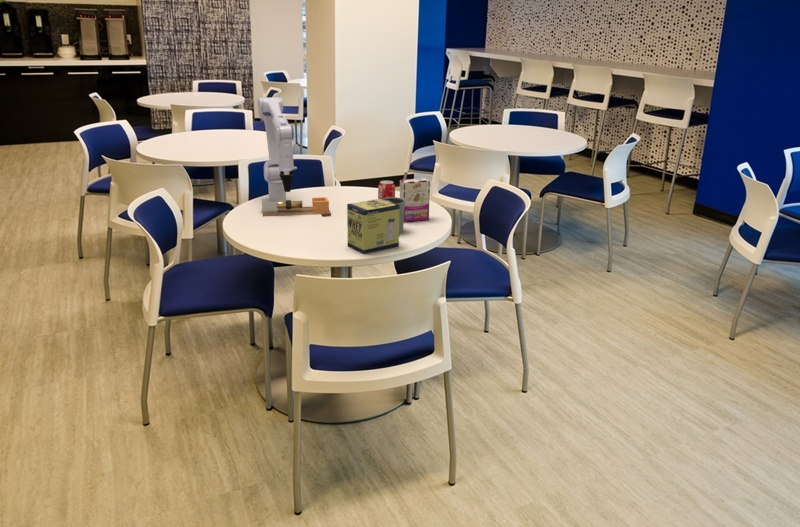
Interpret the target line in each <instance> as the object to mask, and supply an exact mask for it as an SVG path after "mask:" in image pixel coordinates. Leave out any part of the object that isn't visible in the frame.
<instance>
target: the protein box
mask: <svg viewBox="0 0 800 527" xmlns="http://www.w3.org/2000/svg"><path fill="white" fill-rule="evenodd" d="M346 207H347V208H346V209H347V211H346V212H347V216H346V219H347V224H346V225H347V247H349V248H351V249H353V250H355V251H356V252H359V253H361V254H362V255H367V254H370V252H371V253H375V252H380V251H384V250H388V249H392V248H397V247H399V246H400V234H399V211H400V205H399V204H396V203H394V202H391V201H389V200H386V199H383V198H380V199H378V198H375V199H369V200H363V201H358V202H350V203H347V204H346ZM379 250H380V251H379Z"/></svg>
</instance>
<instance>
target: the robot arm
mask: <svg viewBox="0 0 800 527" xmlns="http://www.w3.org/2000/svg"><path fill="white" fill-rule="evenodd" d="M257 109H258V110H257V112H258V117H259V119H260V120H262V121H263V123H264V127H265V128H264V129H265V133H266V134H265V135H266V142H267V150H268V158H269V159H268V160H266V161H265V162H264V163H263V164H264V165H263V177H264V180H265V181H266V183H267V184H268V197H267V199H277V202H279V201H286V200H287V193H291V190H292V184H293V183H292V181H293V178H294V176H295V175H294V172H295V170H297V169H298V167H297V166H294V165H295V164H294V149H293V148H294V146H293V144H294V143H293V141H294V137H295V130H294V126H293V125H292V124H289V121H288V119H287V118H286V115H284V114H283V112H284V100H283V98H282V97H281V96H279V97H277V96H276V97H261V96H260V97H259V98H258V99H257Z"/></svg>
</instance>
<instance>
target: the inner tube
mask: <svg viewBox="0 0 800 527" xmlns="http://www.w3.org/2000/svg"><path fill="white" fill-rule="evenodd" d="M302 207H303V200H291V199H286V200H285V201H279V202H277V208H286V209H291V208H302Z"/></svg>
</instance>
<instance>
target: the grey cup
mask: <svg viewBox="0 0 800 527" xmlns="http://www.w3.org/2000/svg"><path fill="white" fill-rule="evenodd" d="M383 199H386V200H389V201H391V202H394V203H396V204H399V205H400V211H399V233H400V234H402V233H403V232H404V224H405V223H404V208H405V200H404V199H402V198H400V197H396V196H395V197H386V198H383ZM401 232H402V233H401Z"/></svg>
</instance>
